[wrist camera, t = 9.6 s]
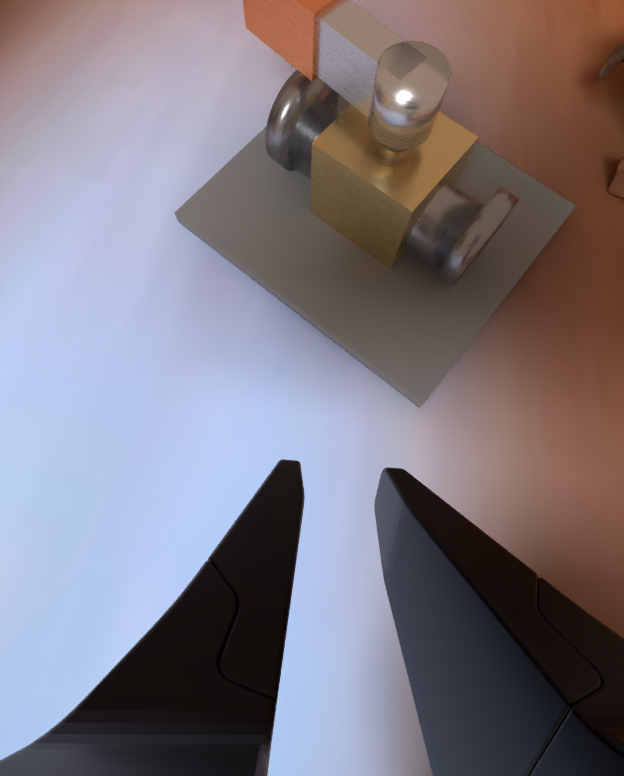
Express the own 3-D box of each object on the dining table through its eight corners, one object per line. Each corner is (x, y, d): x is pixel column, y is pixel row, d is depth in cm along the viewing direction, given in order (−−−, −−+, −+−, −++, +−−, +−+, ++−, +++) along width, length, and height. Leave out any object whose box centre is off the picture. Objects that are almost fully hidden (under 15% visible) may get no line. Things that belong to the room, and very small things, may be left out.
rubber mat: (567, 214, 25) (576, 205, 24) (419, 407, 22) (423, 403, 21) (341, 67, 28) (342, 55, 27) (178, 222, 25) (174, 212, 24)
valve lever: (444, 127, 19) (468, 65, 16) (401, 164, 18) (418, 106, 16) (280, -1, 21) (276, -77, 18) (236, 29, 20) (226, -44, 17)
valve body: (492, 238, 24) (549, 159, 18) (438, 304, 23) (482, 241, 17) (324, 124, 26) (330, 20, 20) (266, 180, 24) (256, 87, 19)
